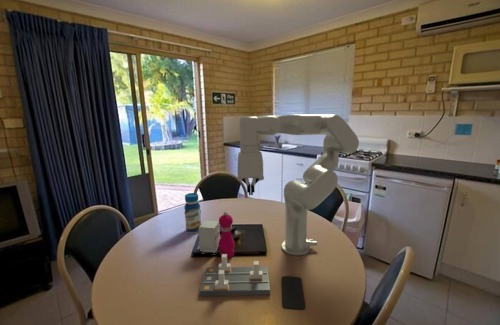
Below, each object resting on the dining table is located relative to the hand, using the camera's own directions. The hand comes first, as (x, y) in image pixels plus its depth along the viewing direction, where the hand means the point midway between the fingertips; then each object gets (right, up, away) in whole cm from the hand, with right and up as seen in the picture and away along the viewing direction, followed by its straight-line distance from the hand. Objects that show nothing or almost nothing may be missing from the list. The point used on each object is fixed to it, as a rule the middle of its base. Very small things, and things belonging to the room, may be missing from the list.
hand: (250, 194), depth 97 cm
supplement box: (-18, -28, +14) cm, 36 cm away
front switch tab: (-10, -30, -14) cm, 35 cm away
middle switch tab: (+2, -29, -9) cm, 30 cm away
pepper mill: (-10, -28, +10) cm, 32 cm away
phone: (+14, -33, -13) cm, 38 cm away
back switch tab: (-10, -28, -4) cm, 30 cm away
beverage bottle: (-30, -24, +32) cm, 50 cm away
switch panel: (-5, -32, -8) cm, 33 cm away
